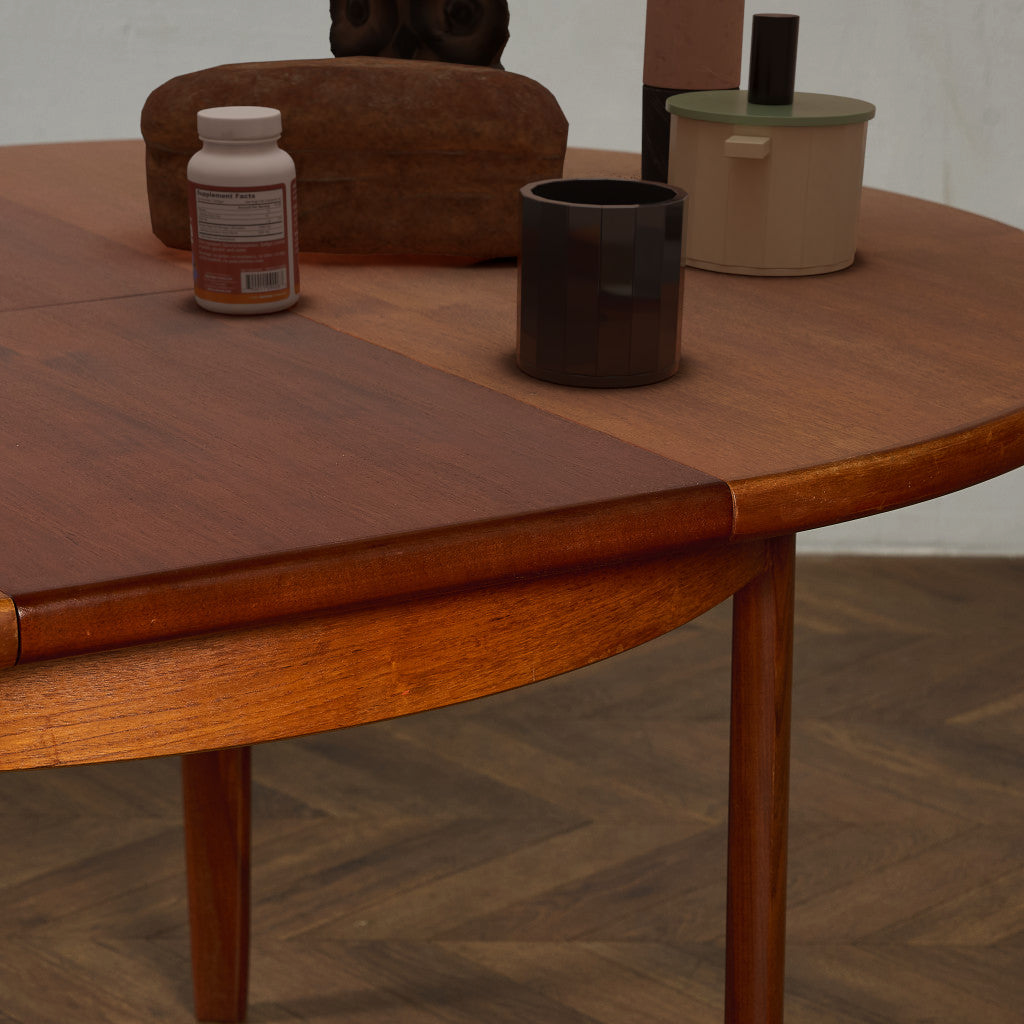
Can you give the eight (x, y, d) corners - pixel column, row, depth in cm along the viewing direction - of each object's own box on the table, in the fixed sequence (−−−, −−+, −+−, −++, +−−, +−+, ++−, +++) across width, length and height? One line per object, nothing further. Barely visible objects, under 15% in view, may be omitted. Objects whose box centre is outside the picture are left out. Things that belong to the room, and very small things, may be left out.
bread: (172, 223, 118) (161, 47, 113) (563, 229, 118) (567, 53, 113) (129, 265, 105) (115, 69, 100) (568, 272, 105) (573, 76, 100)
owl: (525, 196, 129) (530, -72, 122) (380, 209, 123) (375, -72, 116) (453, 172, 139) (454, -77, 132) (316, 182, 134) (308, -77, 126)
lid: (884, 114, 111) (894, 11, 109) (861, 142, 99) (871, 27, 97) (689, 103, 115) (694, 4, 113) (643, 128, 103) (648, 18, 101)
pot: (868, 236, 117) (881, 101, 113) (835, 292, 101) (849, 136, 97) (695, 223, 120) (702, 91, 117) (637, 275, 104) (643, 124, 101)
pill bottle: (230, 287, 100) (221, 101, 96) (319, 297, 98) (314, 108, 93) (173, 309, 94) (161, 114, 90) (266, 321, 92) (258, 121, 88)
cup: (708, 362, 86) (719, 190, 83) (618, 398, 80) (625, 214, 76) (579, 334, 91) (584, 171, 87) (484, 366, 84) (486, 192, 81)
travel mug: (639, 202, 128) (651, -69, 121) (636, 184, 135) (647, -72, 128) (737, 204, 128) (755, -67, 120) (728, 186, 135) (745, -70, 128)
